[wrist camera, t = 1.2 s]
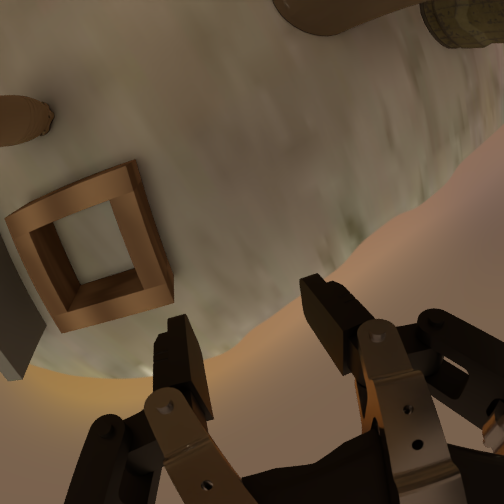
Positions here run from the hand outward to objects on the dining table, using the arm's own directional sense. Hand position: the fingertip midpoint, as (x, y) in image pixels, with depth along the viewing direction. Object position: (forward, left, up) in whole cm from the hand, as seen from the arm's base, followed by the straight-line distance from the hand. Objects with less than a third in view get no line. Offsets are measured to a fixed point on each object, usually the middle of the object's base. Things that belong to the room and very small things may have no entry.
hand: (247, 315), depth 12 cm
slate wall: (+23, -1, -17) cm, 29 cm away
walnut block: (+11, 0, -17) cm, 21 cm away
